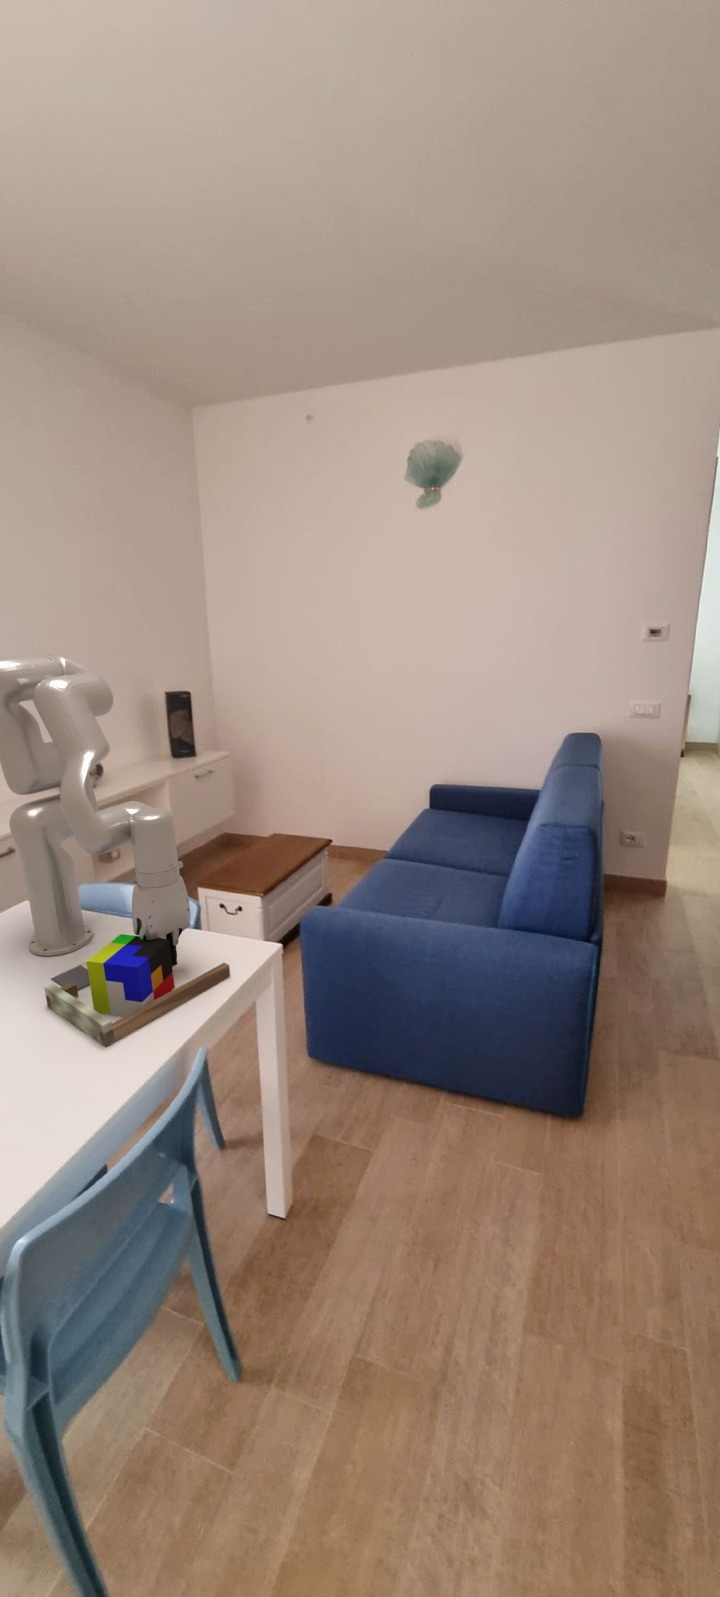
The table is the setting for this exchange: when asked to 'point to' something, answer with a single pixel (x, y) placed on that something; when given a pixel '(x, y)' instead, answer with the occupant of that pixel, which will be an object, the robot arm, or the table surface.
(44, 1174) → the table surface
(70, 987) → the trap box
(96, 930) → the table surface
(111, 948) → the puzzle toy
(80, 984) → the grey flat block
